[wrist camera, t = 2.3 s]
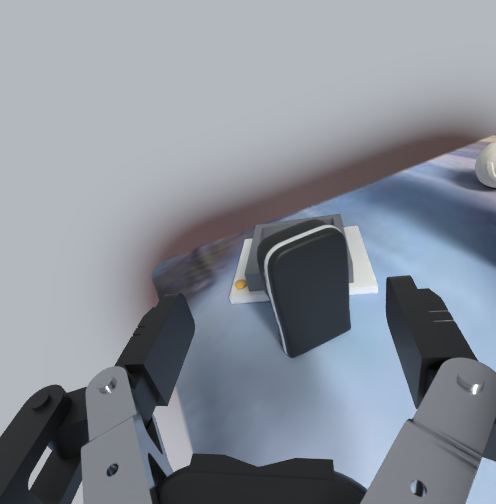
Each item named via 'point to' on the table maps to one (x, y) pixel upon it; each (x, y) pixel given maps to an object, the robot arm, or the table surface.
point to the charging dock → (247, 273)
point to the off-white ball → (487, 165)
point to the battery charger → (306, 283)
